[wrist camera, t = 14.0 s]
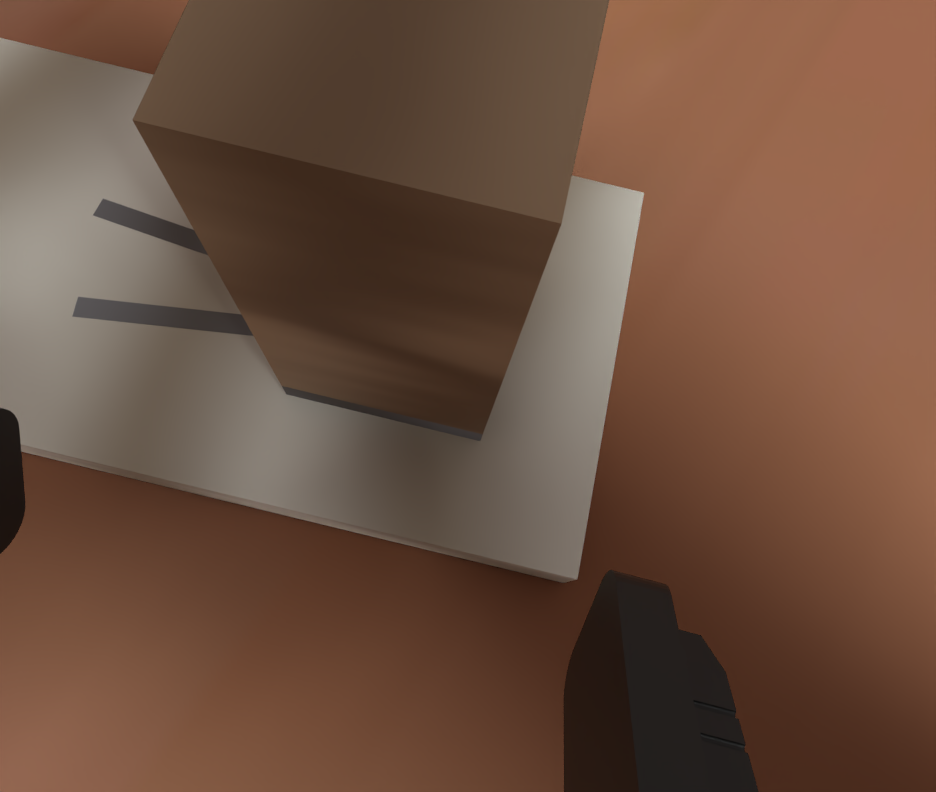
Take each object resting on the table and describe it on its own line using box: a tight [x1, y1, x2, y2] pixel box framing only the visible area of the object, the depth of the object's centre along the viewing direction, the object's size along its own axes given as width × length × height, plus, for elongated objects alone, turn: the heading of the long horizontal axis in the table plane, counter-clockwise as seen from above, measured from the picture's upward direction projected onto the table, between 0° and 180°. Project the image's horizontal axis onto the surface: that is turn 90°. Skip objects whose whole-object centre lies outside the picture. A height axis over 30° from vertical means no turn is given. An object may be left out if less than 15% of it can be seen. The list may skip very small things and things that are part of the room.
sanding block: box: [132, 0, 609, 441], centre depth 12 cm, size 4×5×9 cm
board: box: [0, 38, 644, 583], centre depth 17 cm, size 18×10×2 cm, turn 77°
